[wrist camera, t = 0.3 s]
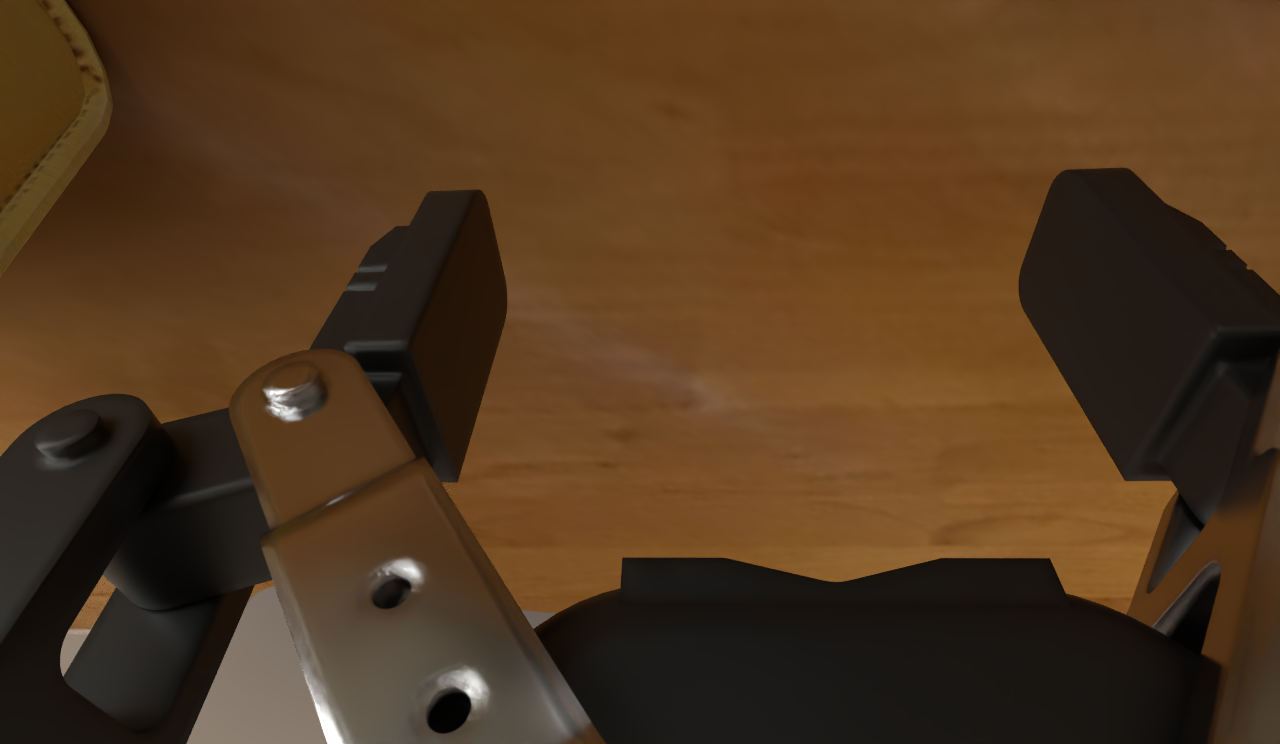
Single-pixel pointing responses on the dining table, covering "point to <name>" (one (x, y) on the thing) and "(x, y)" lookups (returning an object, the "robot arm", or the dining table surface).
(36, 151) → the picnic basket
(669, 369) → the dining table surface
